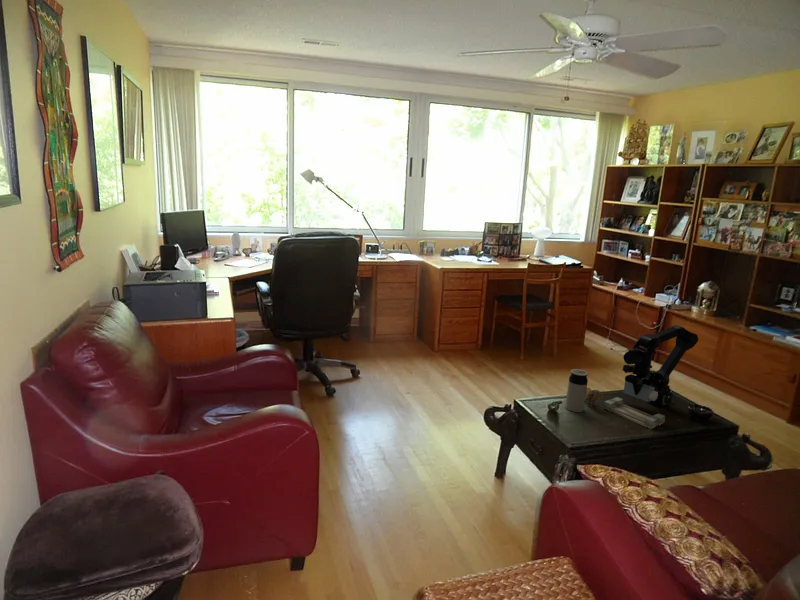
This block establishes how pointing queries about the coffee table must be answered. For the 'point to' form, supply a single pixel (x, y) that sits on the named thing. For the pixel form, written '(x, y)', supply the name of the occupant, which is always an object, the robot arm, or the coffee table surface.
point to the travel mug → (576, 390)
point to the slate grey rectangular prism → (641, 392)
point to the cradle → (633, 413)
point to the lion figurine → (592, 396)
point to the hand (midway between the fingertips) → (638, 394)
